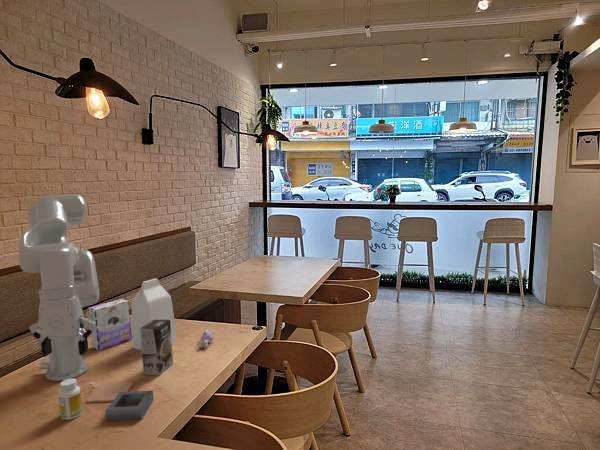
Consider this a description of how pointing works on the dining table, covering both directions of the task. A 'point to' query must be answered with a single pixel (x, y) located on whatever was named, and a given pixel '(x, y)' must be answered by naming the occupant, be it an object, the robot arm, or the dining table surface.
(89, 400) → the pad
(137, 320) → the milk
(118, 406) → the sleeve
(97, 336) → the candy box
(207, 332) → the rabbit figure
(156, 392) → the dining table surface
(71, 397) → the supplement bottle
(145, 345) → the coffee box
